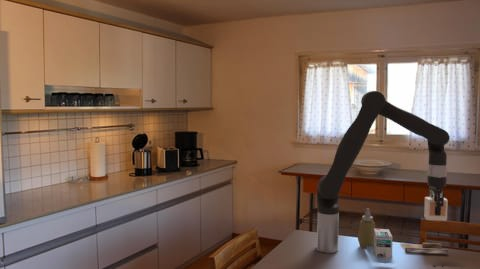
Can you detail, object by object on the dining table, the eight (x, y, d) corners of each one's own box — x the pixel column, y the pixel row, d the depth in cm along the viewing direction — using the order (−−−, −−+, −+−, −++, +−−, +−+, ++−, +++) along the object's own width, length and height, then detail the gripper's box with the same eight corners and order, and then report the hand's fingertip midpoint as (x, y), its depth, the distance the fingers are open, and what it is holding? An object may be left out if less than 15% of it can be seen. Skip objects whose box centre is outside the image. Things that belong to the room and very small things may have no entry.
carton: (424, 216, 192) (424, 196, 191) (443, 217, 190) (444, 197, 190) (427, 220, 186) (428, 199, 186) (447, 220, 185) (447, 200, 185)
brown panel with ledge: (405, 256, 187) (405, 248, 187) (399, 246, 199) (399, 239, 199) (447, 258, 185) (447, 250, 184) (438, 248, 197) (438, 241, 196)
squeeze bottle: (378, 246, 199) (379, 208, 198) (373, 251, 193) (374, 211, 191) (360, 243, 204) (361, 205, 202) (355, 248, 197) (356, 209, 196)
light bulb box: (392, 261, 181) (393, 236, 180) (375, 260, 182) (376, 235, 181) (388, 252, 191) (389, 228, 190) (373, 251, 193) (373, 227, 192)
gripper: (423, 172, 195) (422, 209, 196) (432, 177, 180) (431, 217, 182) (440, 172, 193) (439, 209, 195) (451, 178, 179) (450, 218, 181)
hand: (435, 213), depth 188 cm, fingers closed on carton, 5 cm apart
